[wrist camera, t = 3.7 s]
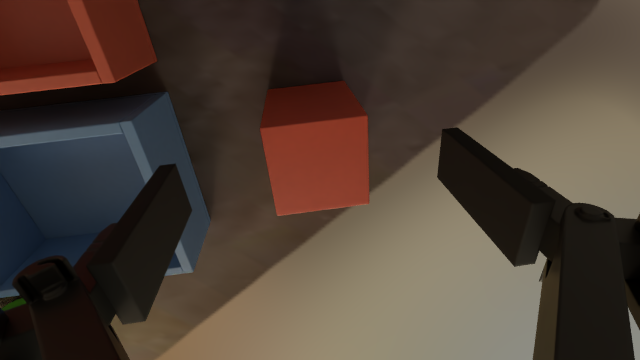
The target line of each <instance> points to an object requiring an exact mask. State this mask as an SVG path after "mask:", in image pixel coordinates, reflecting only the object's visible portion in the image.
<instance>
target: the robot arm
mask: <svg viewBox="0 0 640 360" xmlns="http://www.w3.org/2000/svg"><path fill="white" fill-rule="evenodd" d="M437 177H438V179H439V180H440V181H441V182H442V183H443V185H444V186H445V187H446V188H447V189H448V190H449V191H450V193H451V194H452V195H453V196H454V197H455V198H456V200H457V201H458V202H459V203H460V204H461V205H462V206H463V208H464V209H465V210H466V211H467V212H468V213H469V214H470V216H471V217H472V218H473V219H474V220H475V222H476V223H477V224H478V225H479V226H480V227H481V228H482V230H483V231H484V232H485V233H486V234H487V235H488V237H490V239H491V240H492V241H493V242H494V243H495V245H496V246H497V247H498V248H499V249H500V250H501V251H502V253H503V254H504V255H505V256H506V257H507V259H508V260H509V261H510V262H511V263H512V264H513V265H514V267H515V266H521V265H528V264H535V261H536V259H537V256H538V253H539V251H541V253H543V254H544V255H545V256H546V257H547V261H546V263H545V266H544V269H543V271H542V274H541V277H540V280H539V281H540V282H542V289H541V298H540V305H539V314H538V322H537V331H536V339H535V347H534V354H533V360H635V358H634V351H633V343H632V335H631V329H630V321H629V313H628V308H629V310H630V312H631V314H632V316H633V318H634V320H635V322H636V324H637V326H638V327H639V330H640V214H639V216H638V218H637V219H625V218H614V216H613V215H612V214H611V213H609V212H608V211H607V210H605V209H603V208H600V207H597V206H595V205H591V204H585V203H572V202H570V201H569V200H568V199H566V198H565V197H563V196H562V195H561V194H559V193H558V192H556V191H555V190H553V189H552V188H551V187H548V186H547V185H546V184H545V183H544V182H542V181H540V180H539V179H538V178H536V177H535V176H534V175H532V174H531V173H528V172H526V171H523V170H521V169H519V168H514V169H513V168H512V167H510V166H509V165H507V164H506V163H505V162H503V161H502V160H501V159H499V158H498V157H497V156H495V155H494V154H493V153H491V152H490V151H489V150H487V149H486V148H484V147H483V146H482V145H480V144H479V143H478V142H476V141H475V140H473V139H472V138H471V137H470V136H468V135H467V134H465V133H464V132H463V131H461V130H460V129H459V128H449V129H442V137H441V147H440V156H439V166H438V176H437ZM191 212H192V208H191V205H190V202H189V199H188V196H187V194H186V191H185V188H184V185H183V183H182V180H181V177H180V174H179V171H178V169H177V166H176V163H175V164H167V165H159V167H158V168H157V169H156V171H155V172H154V174H153V175H152V176H151V178H150V179H149V180H148V182H147V183H146V184H145V186H144V187H143V189H142V190H141V191H140V193H139V194H138V195H137V197H136V198H135V200H134V201H133V202H132V204H131V205H130V206H129V208H128V209H127V210H126V212H125V213H124V215H123V216H122V217H121V219H120V220H119V221H118V223H111V224H110V225H109V226H107V227H106V228H105V229H104V230H102V231H101V232H100V233H99V234H98V235H97V237H96V238H95V239H94V240H93V243H92V244H90V246H89V247H88V248H87V249H86V250H87V251H85V252H84V253H83V255H82V256H81V257H80V258H79V260H78V261H77V262H76V264H75V265H74V266H73V267H72V266H71V264H70V263H69V261H68V260H67V258H66V257H64V256H61V255H54V256H49V257H46V258H43V259H40V260H38V261H36V262H34V263H32V264H30V265H29V266H27V267H25V268H24V269H23V270H22V271H20V272H19V273H18V274H17V275H16V277H15V278H14V279H13V282H12V286H13V287H14V288H15V289H16V291H17V292H18V293H19V294H20V296H21V297H22V298H23V299H24V300H25V302H26V303H25V304H22V305H20V306H17V307H14V308H11V309H8V310H5V311H3V310H2V309H1V308H0V360H130V359H129V357H128V355H127V353H126V351H125V350H124V348H123V346H122V344H121V342H120V340H119V338H118V336H117V334H116V333H115V331H114V329H113V327H112V326H111V324H110V323H111V321H112V319H113V317H114V315H115V314H116V315H117V316H118V318H119V319H120V321H121V322H122V324H129V323H136V322H143V321H146V319H147V316H148V314H149V312H150V309H151V307H152V305H153V302H154V300H155V297H156V295H157V293H158V290H159V288H160V286H161V283H162V281H163V279H164V276H165V274H166V271H167V269H168V267H169V264H170V262H171V260H172V257H173V255H174V253H175V250H176V248H177V245H178V243H179V241H180V238H181V236H182V234H183V231H184V229H185V227H186V224H187V222H188V219H189V217H190V215H191Z"/></svg>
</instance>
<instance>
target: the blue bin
mask: <svg viewBox="0 0 640 360" xmlns="http://www.w3.org/2000/svg"><path fill="white" fill-rule="evenodd" d="M175 163H176V166H177V169H178V171H179V174H180V177H181V180H182V183H183V185H184V188H185V191H186V194H187V196H188V199H189V202H190V205H191V208H192V212H191V215H190V217H189V219H188V222H187V224H186V227H185V229H184V231H183V234H182V236H181V238H180V241H179V243H178V245H177V248H176V250H175V253H174V255H173V257H172V260H171V262H170V264H169V267H168V269H167V271H166V274H165V276H167V275H174V274H182V273H190V272H193V271H194V268H195V265H196V262H197V259H198V256H199V253H200V250H201V248H202V245H203V242H204V239H205V236H206V233H207V230H208V227H209V224H210V221H211V220H210V217H209V214H208V211H207V208H206V205H205V202H204V199H203V196H202V193H201V190H200V187H199V184H198V181H197V178H196V175H195V172H194V169H193V166H192V163H191V160H190V157H189V154H188V151H187V148H186V145H185V142H184V139H183V136H182V133H181V130H180V127H179V124H178V121H177V118H176V115H175V112H174V109H173V106H172V103H171V100H170V97H169V94H168V92H158V93H149V94H141V95H132V96H123V97H115V98H106V99H97V100H89V101H80V102H72V103H63V104H54V105H46V106H37V107H28V108H20V109H11V110H2V111H0V298H3V297H10V296H18V295H20V294H19V293H18V292H17V291H16V289H15V288H14V287H13V286H12V282H13V279H14V278H15V277H16V275H17V274H18V273H19V272H20V271H22V270H23V269H24V268H25V267H27V266H29V265H30V264H32V263H34V262H36V261H38V260H40V259H43V258H46V257H49V256H54V255H61V256H64V257H66V258H67V260H68V261H69V263H70V264H71V266H72V267H73V266H74V265H75V264H76V262H77V261H78V260H79V258H80V257H81V256H82V255H83V253H84V252H85V251H87V250H86V249H87V248H88V247H89V246H90V244H92V243H93V240H94V239H95V238H96V237H97V235H98V234H99V233H100V232H101V231H102V230H104V229H105V228H106V227H107V226H109V225H110V224H111V223H118V221H119V220H120V219H121V217H122V216H123V215H124V213H125V212H126V210H127V209H128V208H129V206H130V205H131V204H132V202H133V201H134V200H135V198H136V197H137V195H138V194H139V193H140V191H141V190H142V189H143V187H144V186H145V184H146V183H147V182H148V180H149V179H150V178H151V176H152V175H153V174H154V172H155V171H156V169H157V168H158V167H159V165H167V164H175Z"/></svg>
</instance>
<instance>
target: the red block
mask: <svg viewBox="0 0 640 360" xmlns="http://www.w3.org/2000/svg"><path fill="white" fill-rule="evenodd" d="M260 132H261V137H262V142H263V147H264V152H265V157H266V162H267V167H268V172H269V177H270V182H271V187H272V192H273V197H274V202H275V207H276V212H277V215H278V216H279V215H287V214H295V213H302V212H310V211H318V210H325V209H333V208H341V207H349V206H356V205H364V204H369V156H368V115H367V114H366V112H365V111H364V109H363V108H362V106H361V105H360V103H359V102H358V101H357V99H356V98H355V96H354V95H353V93H352V92H351V90H350V89H349V87H348V86H347V84H346V83H345V81H336V82H328V83H319V84H311V85H302V86H294V87H285V88H276V89H268V91H267V96H266V101H265V106H264V111H263V116H262V121H261V126H260Z"/></svg>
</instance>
